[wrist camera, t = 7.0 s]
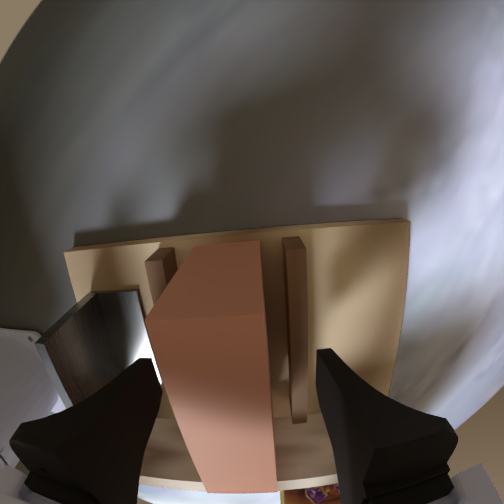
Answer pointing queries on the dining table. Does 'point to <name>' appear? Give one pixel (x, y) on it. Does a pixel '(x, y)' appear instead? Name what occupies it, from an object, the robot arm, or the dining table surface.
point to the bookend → (95, 343)
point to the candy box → (312, 495)
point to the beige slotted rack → (278, 326)
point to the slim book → (219, 365)
